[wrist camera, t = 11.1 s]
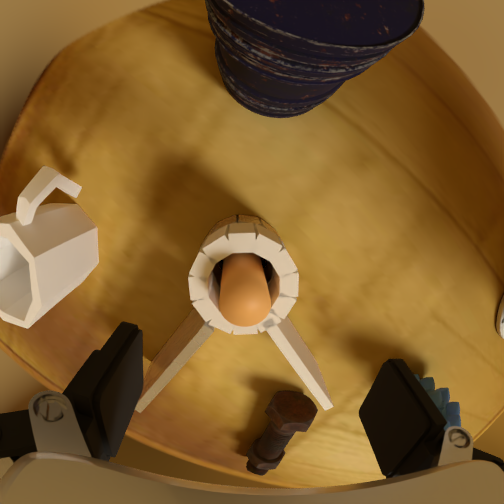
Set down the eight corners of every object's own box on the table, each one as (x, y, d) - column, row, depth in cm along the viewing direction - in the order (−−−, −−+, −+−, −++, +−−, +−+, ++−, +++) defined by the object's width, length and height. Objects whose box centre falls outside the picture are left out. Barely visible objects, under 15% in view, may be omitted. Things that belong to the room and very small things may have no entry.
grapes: (356, 398, 31) (390, 471, 19) (385, 356, 29) (434, 427, 18) (416, 403, 32) (452, 459, 21) (442, 367, 31) (488, 420, 19)
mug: (90, 295, 26) (39, 346, 16) (30, 259, 24) (-28, 293, 15) (125, 182, 23) (64, 192, 13) (56, 152, 22) (-13, 151, 12)
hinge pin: (243, 231, 24) (248, 270, 16) (266, 256, 25) (281, 306, 17) (217, 253, 25) (208, 302, 16) (239, 277, 26) (242, 335, 17)
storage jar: (241, 134, 22) (244, 76, 8) (204, 39, 20) (172, -74, 5) (349, 104, 22) (459, 49, 7) (308, 15, 19) (363, -87, 5)
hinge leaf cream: (186, 243, 24) (167, 270, 18) (256, 199, 24) (262, 211, 17) (284, 377, 29) (294, 425, 22) (341, 346, 28) (364, 389, 21)
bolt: (250, 448, 35) (284, 382, 31) (279, 463, 33) (322, 400, 29) (230, 472, 30) (263, 410, 26) (262, 489, 28) (307, 432, 24)
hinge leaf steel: (298, 248, 25) (320, 277, 18) (181, 380, 29) (169, 428, 22) (235, 198, 24) (233, 209, 17) (127, 345, 27) (102, 389, 20)
